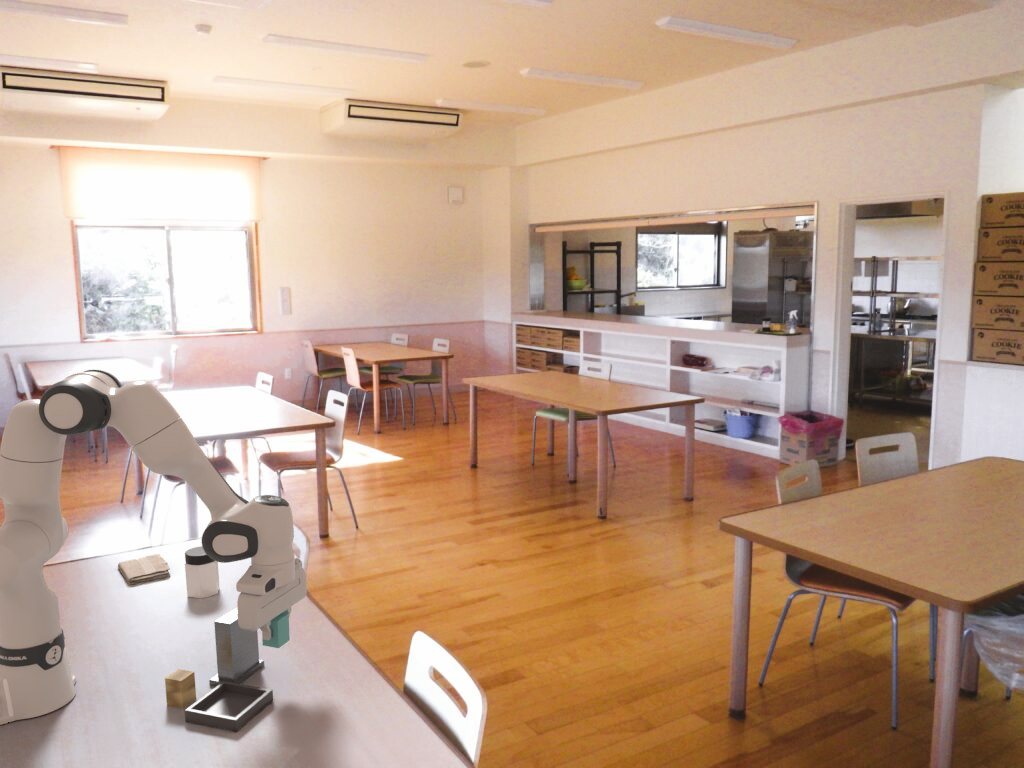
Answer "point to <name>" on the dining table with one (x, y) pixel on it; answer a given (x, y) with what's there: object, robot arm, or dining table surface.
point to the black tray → (229, 706)
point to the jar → (201, 574)
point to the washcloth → (144, 569)
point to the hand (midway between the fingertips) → (275, 633)
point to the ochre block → (180, 688)
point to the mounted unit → (235, 650)
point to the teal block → (278, 631)
